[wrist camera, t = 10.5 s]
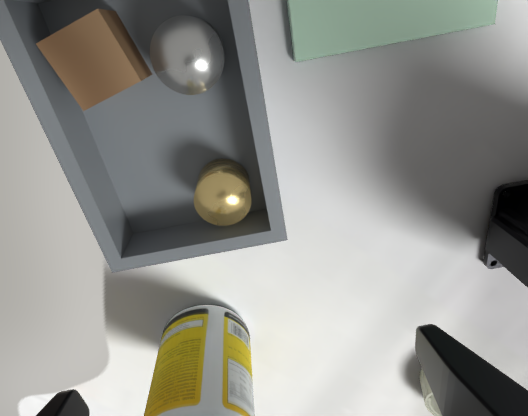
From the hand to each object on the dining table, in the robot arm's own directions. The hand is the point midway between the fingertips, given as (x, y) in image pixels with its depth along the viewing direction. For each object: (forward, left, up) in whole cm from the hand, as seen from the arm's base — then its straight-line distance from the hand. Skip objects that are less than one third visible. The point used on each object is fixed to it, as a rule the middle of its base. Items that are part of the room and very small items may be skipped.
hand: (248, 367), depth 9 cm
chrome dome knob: (+1, -7, -13) cm, 14 cm away
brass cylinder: (+1, 0, -13) cm, 13 cm away
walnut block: (+5, -7, -13) cm, 15 cm away
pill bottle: (+5, +12, -13) cm, 19 cm away
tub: (+3, -4, -13) cm, 14 cm away
